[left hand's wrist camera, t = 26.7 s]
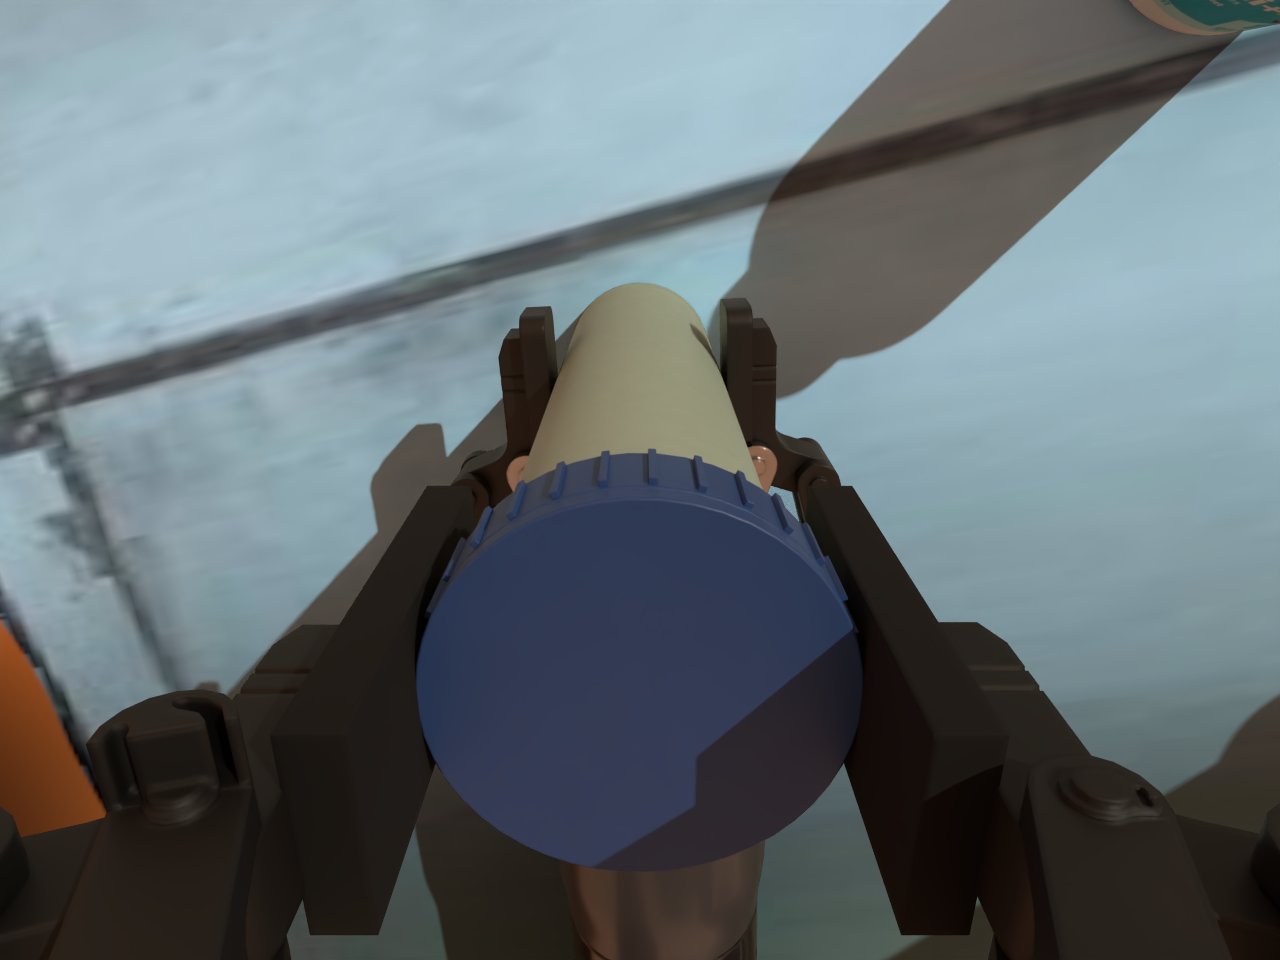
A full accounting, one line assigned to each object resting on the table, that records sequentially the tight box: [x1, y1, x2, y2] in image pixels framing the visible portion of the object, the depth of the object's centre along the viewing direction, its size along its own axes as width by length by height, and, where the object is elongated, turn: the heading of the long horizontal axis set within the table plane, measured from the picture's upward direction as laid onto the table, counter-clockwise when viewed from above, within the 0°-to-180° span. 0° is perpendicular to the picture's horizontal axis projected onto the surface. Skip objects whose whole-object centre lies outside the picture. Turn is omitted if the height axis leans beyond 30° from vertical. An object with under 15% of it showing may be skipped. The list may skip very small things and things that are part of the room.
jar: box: [520, 283, 763, 490], centre depth 21 cm, size 5×5×19 cm
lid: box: [416, 449, 864, 872], centre depth 12 cm, size 6×6×2 cm
